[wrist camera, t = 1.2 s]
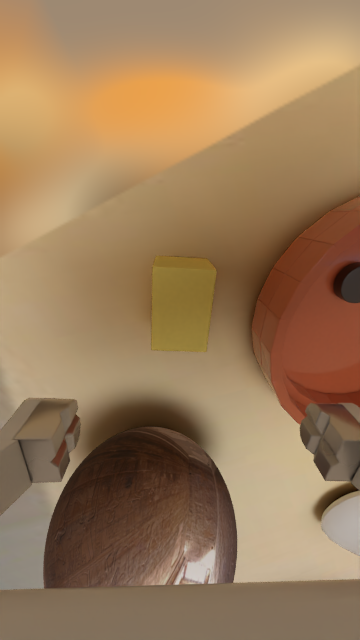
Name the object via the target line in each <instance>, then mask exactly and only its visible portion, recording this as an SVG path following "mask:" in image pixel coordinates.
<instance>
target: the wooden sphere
mask: <svg viewBox="0 0 360 640" xmlns="http://www.w3.org/2000/svg"><path fill="white" fill-rule="evenodd" d="M236 559H237V529H236V520H235V514H234V509H233V505H232V501H231V497H230V494H229V491H228V489H227V486H226V484H225V481H224V479H223V477H222V475H221V473H220V471H219V470H218V468H217V466H216V465H215V463H214V462H213V461H212V459H211V458H210V457H209V456H208V454H207V453H206V452H205V451H204V450H203V449H202V448H201V447H200V446H199V445H198V444H196V443H195V442H194V441H192V440H191V439H190V438H188V437H186V436H185V435H183V434H181V433H178V432H176V431H173V430H170V429H166V428H161V427H140V428H134V429H130V430H127V431H124V432H122V433H119V434H117V435H115V436H113V437H111V438H110V439H108V440H106V441H105V442H103V443H102V444H101V445H99V446H98V447H97V448H96V449H94V450H93V451H92V452H91V453H90V454H89V455H88V456H87V457H86V458H85V459H84V460H83V461H82V463H81V464H80V465H79V466H78V467H77V469H76V470H75V472H74V473H73V474H72V476H71V477H70V479H69V481H68V482H67V484H66V486H65V487H64V489H63V491H62V493H61V495H60V497H59V500H58V502H57V504H56V507H55V510H54V512H53V515H52V518H51V522H50V525H49V529H48V534H47V539H46V545H45V552H44V569H43V576H44V589H47V588H80V587H113V586H146V585H180V584H214V583H233V580H234V575H235V568H236Z"/></svg>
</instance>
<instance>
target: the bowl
mask: <svg viewBox="0 0 360 640" xmlns="http://www.w3.org/2000/svg"><path fill="white" fill-rule="evenodd" d="M357 262H360V196H359V197H357V198H355V199H353V200H351V201H349V202H347V203H345V204H343V205H341V206H339V207H337V208H335V209H332V210H330V212H328V213H327V214H325V215H324V216H323V217H322V218H320V219H319V220H318V221H317V222H315V223H314V224H313V225H312V226H310V227H309V228H308V229H307V230H305V231H304V232H303V233H302V234H301V235H299V236H298V237H297V238H296V239H295V240H294V241H293V243H292V244H291V245H290V246H289V248H288V249H287V250H286V251H285V253H284V254H283V255H282V256H281V257H280V259H279V260H278V261H277V262H276V264H275V265H274V266H273V268H272V270H271V272H270V274H269V276H268V278H267V280H266V282H265V284H264V286H263V288H262V290H261V292H260V294H259V296H258V299H257V304H256V308H255V313H254V318H253V323H252V338H253V351H254V354H255V357H256V359H257V361H258V364H259V366H260V368H261V371H262V373H263V374H264V376H265V378H266V380H267V382H268V383H269V385H270V387H271V389H272V390H273V392H274V394H275V396H276V397H277V399H278V401H279V403H280V404H281V406H282V407H283V408H284V409H285V410H286V411H287V412H288V413H289V414H290V416H291V417H292V418H293V419H294V420H295V421H296V422H297V423H298V424H300V425H301V422H302V420H303V419H304V418H306V417H307V414H306V412H305V410H306V408H307V406H308V405H309V404H310V403H353V404H355V405H357V406H358V407H359V408H360V303H349V302H347V301H345V300H343V299H341V298H339V297H338V296H337V295H336V294H335V292H334V289H333V284H334V280H335V278H336V276H337V274H338V273H339V272H340V271H341V270H342V269H343V268H344V267H346V266H348V265H350V264H352V263H357Z"/></svg>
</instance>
